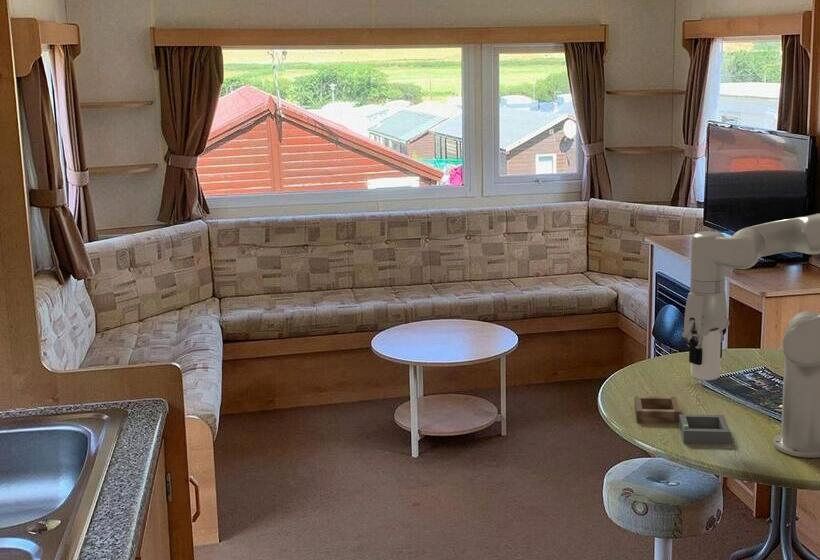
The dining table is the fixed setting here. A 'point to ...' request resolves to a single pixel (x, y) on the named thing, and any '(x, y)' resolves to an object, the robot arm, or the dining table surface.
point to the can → (708, 357)
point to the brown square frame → (656, 409)
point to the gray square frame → (704, 429)
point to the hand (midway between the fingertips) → (705, 359)
